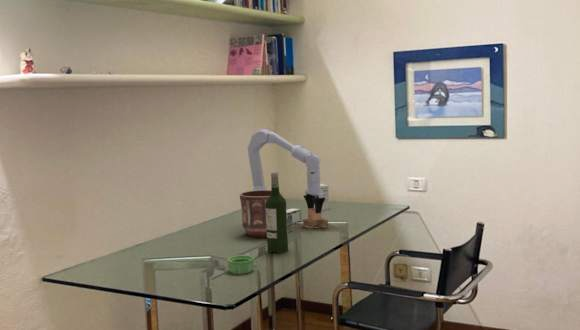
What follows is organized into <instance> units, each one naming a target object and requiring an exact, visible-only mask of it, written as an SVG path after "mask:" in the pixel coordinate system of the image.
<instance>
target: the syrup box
mask: <svg viewBox="0 0 580 330" xmlns="http://www.w3.org/2000/svg"><path fill="white" fill-rule="evenodd" d="M286 210H287V226H290V225H293V224H295V223H294V222H296V223H299V222H298V221H300V222H303V219H302V217H303V215H302V209H301V208H289V209H286ZM292 223H293V224H292Z"/></svg>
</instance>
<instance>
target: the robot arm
mask: <svg viewBox="0 0 580 330" xmlns="http://www.w3.org/2000/svg"><path fill="white" fill-rule="evenodd" d="M266 144H276V145H277V146H280V148H283V149H284V150H287V152H290V154H291V156H292V157H293V158H294V159H296V160H298V161H300V162H301V163H303V164H305V166H306V169H307V170H306V181H307V182H306V183H307V184H306V185H307V186H306V187H307V189H305V190H304V192H305V193H304V195H303V198H304V200H305V203H306V204H307V205H306V206H307V209H308V208H314V205H315V211H316V213H322V211H323V210H322V206H323V203H324V201H325V197H323V193H322V192H323V191H322V190H320V184H321V171H320V164H321V157H320V156H319V155H318V154H316V153H313V151H310V150H308V149H306V148H305V146H304V145H302V144H301V145H299V144H297V145H294V144H293V143H291V142H290V141H288V140H287V139H285V138H284V137H282V136H281V135H279V134H277V133H276V132H273V131H271V130H269V129H267V128H262V129H258V130H257V131H254V133H253V134H252V135H251V139H250V140H249V144H248V146H247V154H248V159H249V160H248V161H249V168H250V172H251V178H252V184H253V186H252V187H253V190H252V191H259V190H268V188H267V186H266V184H265V178H264V173H263V166H262V165H263V164H262V159H261V154H260V150H261V149H262V148H263V147H264V146H265V145H266Z"/></svg>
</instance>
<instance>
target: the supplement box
mask: <svg viewBox="0 0 580 330" xmlns="http://www.w3.org/2000/svg"><path fill="white" fill-rule="evenodd" d="M320 190H322V191H323V192H322V193H323V197H325V201H324V203H323V206H322V210H321V211H326V210H330V203H329V202H330V201H329V195H330V194H329V185H328V184H324V183H320ZM314 208H315V205H314Z"/></svg>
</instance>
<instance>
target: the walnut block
mask: <svg viewBox="0 0 580 330" xmlns="http://www.w3.org/2000/svg"><path fill="white" fill-rule="evenodd" d="M302 222H303V225H302V227H304V226H308V227H311V228H315V227H323V226H327V225H328V226H329V220H328V219H326V218H323V217H322V220H318V221H311V220H308V218H304V219H302ZM323 228H324V227H323Z"/></svg>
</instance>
